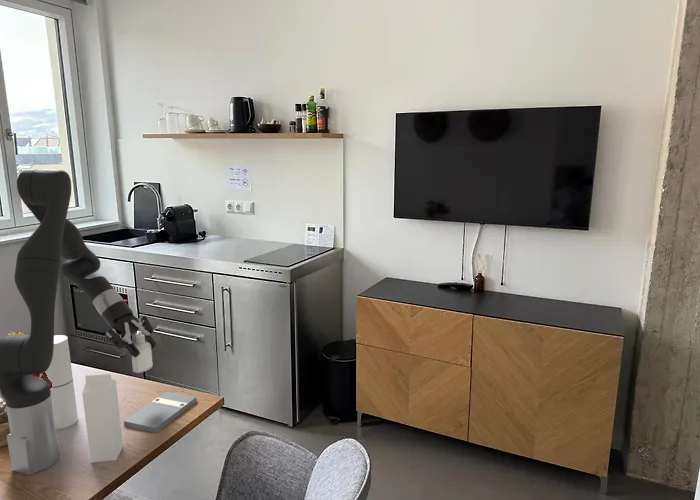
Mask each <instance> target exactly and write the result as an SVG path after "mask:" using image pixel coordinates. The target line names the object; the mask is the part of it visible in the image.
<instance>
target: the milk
mask: <svg viewBox="0 0 700 500" xmlns="http://www.w3.org/2000/svg"><path fill="white" fill-rule="evenodd" d="M84 378H85V384H84V387H83V389H82V393H81V394H82V403H83V410H84V417H85V426H86V433H87V439H88V440H87V442H88V448H89V450H88V451H89V457H90V463H91V464H94V463H102V462H103V463H104V462H114V461H117V459H118V458H119V457H120V456H119V455H120V454H121V452H122V450H123V448H124V444H123V443H124V441H123V434H122V432H123V431H122V423H121V416H120V407H119V397H118V389H117V380H115V379H112V374H110V373H106V374H93V375H86V376H85V377H84Z"/></svg>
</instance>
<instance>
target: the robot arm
mask: <svg viewBox="0 0 700 500" xmlns="http://www.w3.org/2000/svg"><path fill="white" fill-rule="evenodd" d="M16 188H17V193H18V195H19V198H20V200H22V202H23V204H25V206H26V207H27V208H28V210H29V211H30V212H31V213H32V215H33V216H34V217H35V218H36V219H37V221H38V222H39V223H40V224H39V226H38V227H37V228H36V230H35V231H34V232H32V233H31V235H29V237H28V238H27V239H26V240H25V242H24V243H23V244H22V246H21V247H20V249H19V250H18V252H17V256H16V262H15V269H14V283H15V286H16V289H17V290H18V292H19V294H20V296H21V297H22V300H23V301H24V303H25V305H26V307H27V309H28V311H29V315H30V334H21V335H17V334H16V335H13V334H12V335H6V336H4V337H2V338H0V394H1V397H2V398H3V400H4V401H5V407H6V413H7V419H8V426H9V432H10V433H8V434H7V435H6V440H7V446H8V453H9V458H10V465H11V471H14V472H17V473H21V474H24V475H28V476H31V475H34V474H35V473H38V472H41V471H44V470H46V469H48V468H50V467H52V466H53V465H55V464H56V463H57V462H58V461H59V459H60V455H61V454H60V449H59V441H58V435H57V434H58V433H57V429H56V427H55V420H54V413H53V406H52V398H51V391H50V386H49V384H48V383H47V382H46V381H44V380H43V378H39V377H36V376H35V375H42V373H44V372H45V371H47V369H48V368H49V366H50V364H51V361H52V357H53V350H54V336H55V311H56V310H55V309H56V299H57V291H58V283H59V277H60V273H61V274H62V276H63V277H64V278H65V279H66V280H67V281H68V282H70V283H72V284H73V285H75V286H76V287H78V289H80V290H81V291H82V292H83V293H84V294H85V295H86V296H87V297H88V298H89V300H90V302H91V303H92V304H93V306H94V307H95V309H96V311H97V312H98V314H99V315H100V316H101V317H102V318H103V319H102V320H103V321H105V324H107V326H109V327H110V329H109V330H108V331H107V332H106V333H105V334H104V336H105V337H106V338H107V340H109V341H110V342H111V343H112V344H113V345H114V346H115V347H116V348H117V349H119V350H121V349H126V350H127V351H128V353H129V354H130V356H131V357H132V356H134V357H137V356H138V355H139V354H140V352H139V350H138V349H137V348H136V346H135V344H134V343H133V341H132V338H131V336H135V337H136V336H137V335H138V332H139V331H141V333H142V334H143V335H145V342H149V343H150V344H151V350H154V349H155V348H156V347H157V343H156V341H155V340H154V339H153V337H152V336H151V335H152V333H154V328H153V327H152V324H151V323H150V321H149V320H148V318H147V316H145V315H143V316H142V317H139V318H137V316H135V315H134V313H133V312H134V311H133V310H132V309H131V308H130V306H129V305H128V303H127V302H126V301H125V300H124V299H123V297H122V296H121V295H120V293H118V292H117V291H116V290H115V288H114V286H112V284H111V283H110V282H109V280H108V279H107V278H106V277H105V276H102V275H99V276H95V277H92V278H91V277H90V278H87V277H89V276H90V275H92V274H94V273H96V272H98V271H99V269H100V268H101V260H100V259H99V257H98V256H97V255H96V254H95V253H94V252H93V251H92V250H91V249H89V247H88V246H87V245H86V243H85V241H84V239H83V236H82V234H81V232H80V230H79V229H78V227H77V226H76V225H75V224H74V222H72V221H71V220H69V219H68V218H67V216H68V211H69V206H70V201H71V197H72V180H71V176H70V175H69V173H68V172H67V171H65V170H62V169H44V168H42V169H41V168H29V169H28V168H27V169H23V170H22V171H20V173H18V176H17V179H16ZM61 257H62V258H63V259H65V261H63V262H62V263H61Z"/></svg>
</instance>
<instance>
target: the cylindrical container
mask: <svg viewBox="0 0 700 500" xmlns="http://www.w3.org/2000/svg"><path fill="white" fill-rule="evenodd" d="M68 339H69V337H68V336H67V335H62V334H58V335H57V334H56V335H55V334H54V350H53V357H52V361H51V364H50V366H49V368H48V369H47V371H45V373H46V375H47V377H48V379H49V380H50V381H51V382H52V387H53V388H52V389H51V390H50V391H51V398H52V406H53V413H54V420H55V427H56V430H63V429H66V428H69V427H71V426H73V425H75V424H76V423H77V422H78V420H79V416H78V409H77V401H76V392H75V385H74V379H73V370H72V362H71V352H70V346H69V340H68Z"/></svg>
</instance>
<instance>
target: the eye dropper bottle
mask: <svg viewBox="0 0 700 500" xmlns="http://www.w3.org/2000/svg"><path fill="white" fill-rule="evenodd" d="M135 342H136V343H135V344H134V345H135V346H136V348H137V349H138V350H139V352H140V354H139V355H138V356H137V357H134V356H132V355H131V363H132V372H133V373H136V374H140V373H144V372H147V371H149V370H151V369H152V368H153V366H154V363H153V351H152V350H153V349H152V350H151V344H150V343H149V342H145V334H144V335H143V333H141V331H140V330H138V335H137V336H136V335H135Z"/></svg>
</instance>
